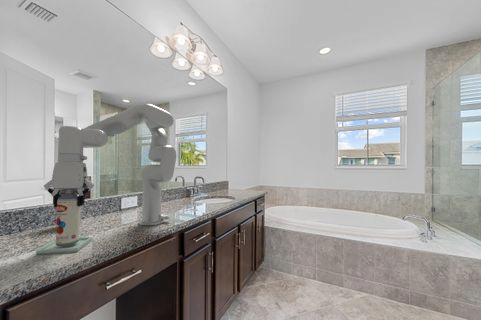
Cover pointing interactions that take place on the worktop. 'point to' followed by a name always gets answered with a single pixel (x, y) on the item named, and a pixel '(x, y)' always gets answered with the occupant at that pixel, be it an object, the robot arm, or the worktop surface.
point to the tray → (64, 247)
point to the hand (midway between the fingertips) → (69, 205)
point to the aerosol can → (67, 219)
